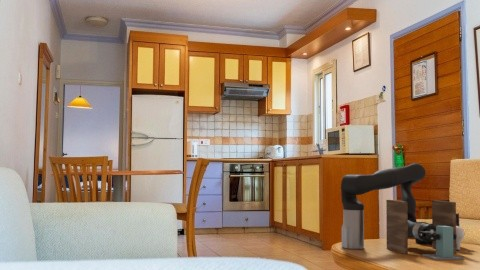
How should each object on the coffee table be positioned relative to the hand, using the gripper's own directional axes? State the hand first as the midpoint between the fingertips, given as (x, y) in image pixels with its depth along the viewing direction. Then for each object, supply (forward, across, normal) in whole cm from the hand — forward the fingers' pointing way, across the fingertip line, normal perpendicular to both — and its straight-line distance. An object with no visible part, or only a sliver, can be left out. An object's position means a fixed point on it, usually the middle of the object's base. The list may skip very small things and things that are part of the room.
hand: (447, 236), depth 205 cm
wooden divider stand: (-20, 0, +9) cm, 22 cm away
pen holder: (-45, +17, +9) cm, 49 cm away
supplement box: (-33, +23, +9) cm, 41 cm away
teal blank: (-2, 0, +8) cm, 8 cm away
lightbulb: (-20, +18, +9) cm, 28 cm away
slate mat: (-2, -1, +9) cm, 9 cm away
